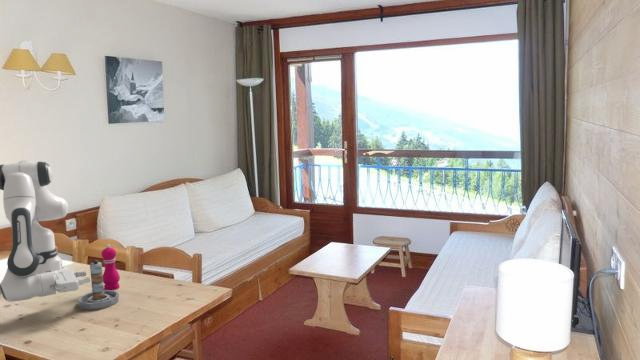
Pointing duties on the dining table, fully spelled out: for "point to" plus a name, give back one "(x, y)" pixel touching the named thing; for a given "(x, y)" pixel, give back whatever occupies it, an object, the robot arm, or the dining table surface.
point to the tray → (90, 304)
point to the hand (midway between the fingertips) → (87, 276)
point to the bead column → (97, 280)
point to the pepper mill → (110, 269)
